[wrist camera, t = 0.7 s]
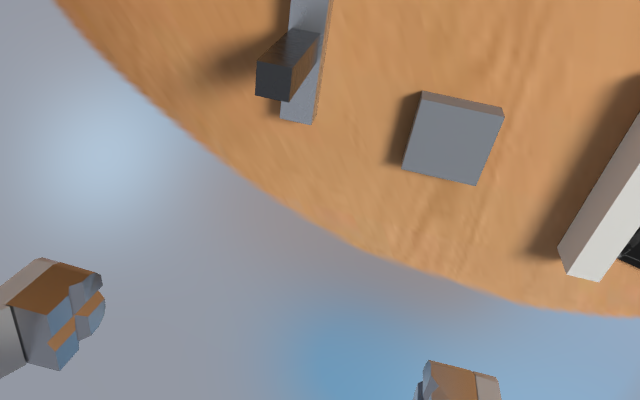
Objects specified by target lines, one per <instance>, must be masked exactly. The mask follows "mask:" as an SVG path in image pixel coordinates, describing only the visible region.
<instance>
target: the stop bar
mask: <svg viewBox="0 0 640 400" xmlns="http://www.w3.org/2000/svg"><path fill="white" fill-rule="evenodd" d="M639 227H640V112H639V114H638V115H637V117H636V119H635V120H634V122H633V124H632V125H631V127H630V128H629V130H628V132H627V133H626V135H625V137H624V138H623V140H622V142H621V143H620V145H619V146H618V148H617V150H616V151H615V153H614V155H613V156H612V158H611V160H610V161H609V163H608V164H607V166H606V168H605V169H604V171H603V173H602V174H601V176H600V178H599V179H598V181H597V183H596V184H595V186H594V187H593V189H592V191H591V192H590V194H589V196H588V197H587V199H586V201H585V202H584V204H583V205H582V207H581V209H580V210H579V212H578V214H577V215H576V217H575V219H574V220H573V222H572V223H571V225H570V227H569V228H568V230H567V232H566V233H565V235H564V237H563V238H562V240H561V241H560V243H559V245H558V246H557V249H558V252H559V255H560V258H561V260H562V263H563V266H564V269H565V272H566V274H567V275H571V276H575V277H579V278H583V279H587V280H592V281H596V282H599V281H600V280H601V279H602V277H603V276H604V275H605V273H606V272H607V271H608V269H609V268H610V266H611V265H612V264H613V262H614V261H615V260H616V258H617V257H618V255H619V254H620V253H621V251H622V250H623V249H624V247H625V246H626V245H627V243H628V242H629V240H630V239H631V238H632V236H633V235H634V234H635V232H636V231H637V229H638V228H639Z"/></svg>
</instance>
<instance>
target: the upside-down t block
mask: <svg viewBox="0 0 640 400" xmlns="http://www.w3.org/2000/svg"><path fill="white" fill-rule="evenodd" d="M333 1H334V0H291V6H290V16H289V26H288V32H287V33H286V34H285V35H284V36H283V37H281V38H280V39H279V40H278V41H277V42H276V43H275V44H274V45H273V46H272V47H271V48H270V49H269V50H268V51H267V52H266V53H264V54H263V55H262V56H261V57H260V58H259V59H258V60H257V69H256V86H255V95H256V96H261V97H265V98H270V99H274V100H279V101H281V110H280V118H281V119H285V120H290V121H294V122H299V123H303V124H308V125H312V123H313V121H314V119H315V117H316V115H317V108H318V102H319V95H320V88H321V81H322V75H323V68H324V61H325V55H326V48H327V41H328V34H329V28H330V21H331V14H332V7H333Z"/></svg>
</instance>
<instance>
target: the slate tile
mask: <svg viewBox="0 0 640 400" xmlns="http://www.w3.org/2000/svg"><path fill="white" fill-rule="evenodd" d="M504 118H505V116H504V113H503V110H502V108H501V107H497V106H492V105H487V104H483V103H478V102H473V101H469V100H464V99H459V98H455V97H450V96H445V95H441V94H436V93H431V92H427V91H422V93H421V96H420V99H419V103H418V106H417V110H416V113H415V117H414V120H413V123H412V127H411V130H410V134H409V137H408V140H407V144H406V147H405V151H404V154H403V158H402V166H401V169H403V170H408V171H412V172H416V173H421V174H425V175H429V176H434V177H438V178H442V179H447V180H451V181H455V182H460V183H464V184H469V185H473V186H476V184H477V182H478V180H479V177H480V175H481V173H482V170H483V168H484V165H485V163H486V161H487V158H488V156H489V154H490V151H491V149H492V147H493V144H494V142H495V139H496V137H497V135H498V132H499V130H500V128H501V125H502V123H503V121H504Z"/></svg>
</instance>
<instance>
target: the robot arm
mask: <svg viewBox="0 0 640 400" xmlns="http://www.w3.org/2000/svg"><path fill="white" fill-rule="evenodd" d="M102 285H103V284H102V279H101V275H100V274H98V273H95V272H92V271H89V270H85V269H82V268H78V267H75V266H72V265H68V264H65V263H61V262H57V261H53V260H50V259H46V258H43V257H42V258H38V259H35V260H33V261H32V262H31V263H30V264H29V265H27V266H26V267H25V268H23V269H22V270H21V271H19V272H18V273H17V274H16V275H14V276H13V277H12V278H10V279H9V280H8V281H6V282H5V283H4V284H3V285H1V286H0V379H1V378H2V377H4V376H6V375H8V374H10V373H12V372H13V371H15V370H17V369H19V368H21V367H23V366H24V365H26V363H30V364H34V365H38V366H42V367H46V368H49V369H53V370H57V371H60V370H61V369H62V368H63V367H64V366H65V365H66V363H67V362H68V361H69V360H70V359H71V358H72V357H73V355H74V354H75V353H76V352H77V351H78V350H79V341H80V340H82V339H84V338H87V337H89V336H91V335H92V334H93V333H94V331H95V330H96V329H97V328H98V327H99V325H100V323H101V321H102V318H103V316H104V313H105V299H104V297H103V296H102V295H101V293H100V292H99V291H98V290H99V289H100V288H101V287H102ZM413 400H501V394H500V389H499V383H498V380H497V379H496V377H493V376H489V375H486V374H482V373H478V372H472V371H470V370H466V369H463V368H459V367H455V366H451V365H447V364H442V363H439V362H435V361H431V360H428V362H427V363H426V365H425V367H424V370H423V381H422V382H420V383H418V385H417V387H416V390H415V393H414V398H413Z"/></svg>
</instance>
